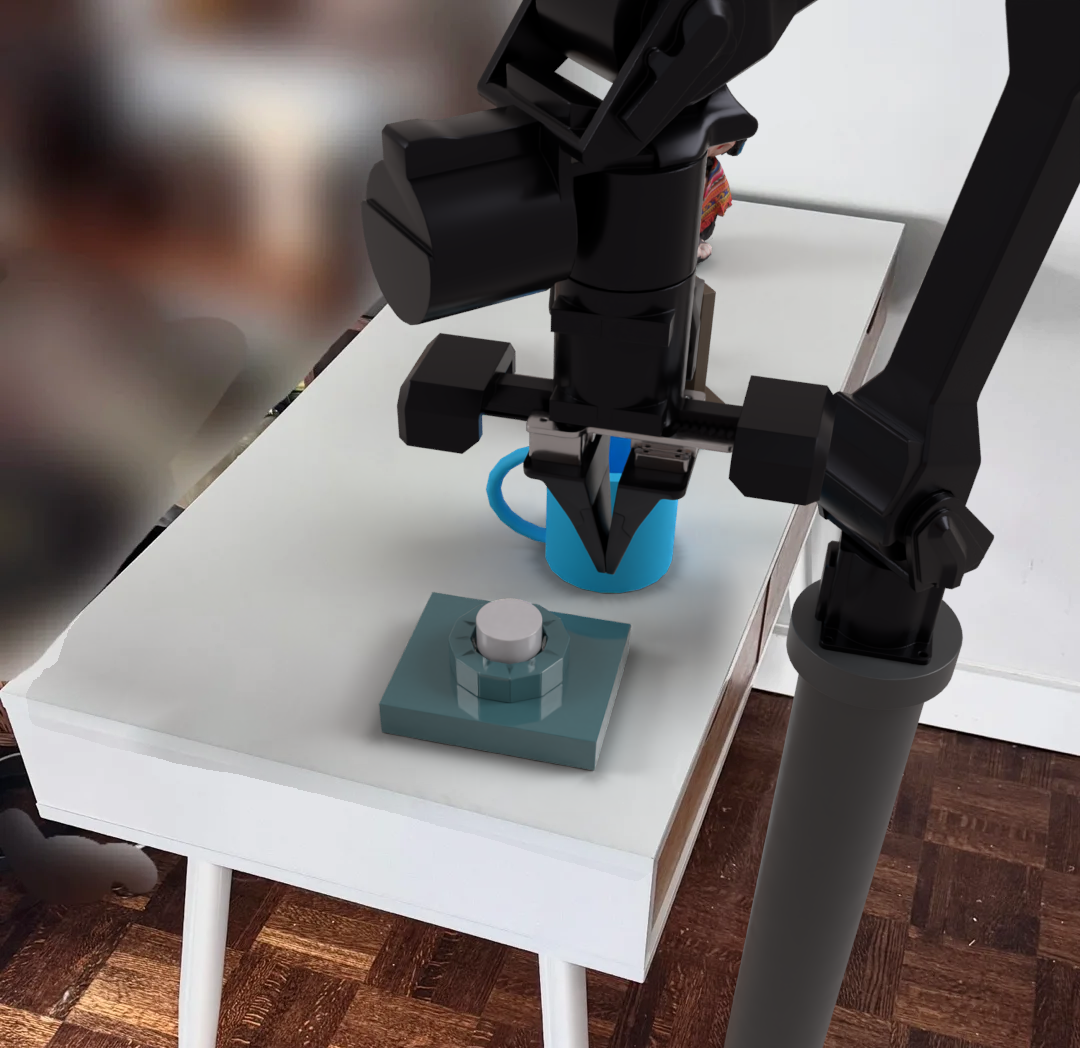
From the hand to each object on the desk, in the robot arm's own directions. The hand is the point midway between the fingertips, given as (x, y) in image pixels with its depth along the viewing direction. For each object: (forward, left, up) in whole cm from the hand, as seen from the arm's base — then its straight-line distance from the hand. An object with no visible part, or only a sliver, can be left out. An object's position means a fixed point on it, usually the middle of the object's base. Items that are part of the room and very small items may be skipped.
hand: (607, 568), depth 65 cm
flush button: (+6, -3, -8) cm, 10 cm away
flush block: (+6, -3, -12) cm, 13 cm away
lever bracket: (+3, -35, -12) cm, 37 cm away
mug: (+5, -17, -12) cm, 21 cm away
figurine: (+5, -60, -12) cm, 61 cm away
